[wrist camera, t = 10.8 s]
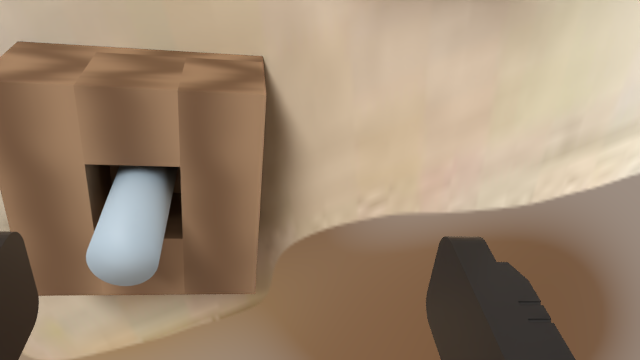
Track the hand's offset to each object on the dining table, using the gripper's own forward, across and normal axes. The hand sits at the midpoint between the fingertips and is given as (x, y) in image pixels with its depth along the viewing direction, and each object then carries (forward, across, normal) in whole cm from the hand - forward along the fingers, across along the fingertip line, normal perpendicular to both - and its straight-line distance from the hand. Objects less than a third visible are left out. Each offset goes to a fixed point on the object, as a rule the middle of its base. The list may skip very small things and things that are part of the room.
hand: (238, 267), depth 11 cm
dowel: (+23, +6, +11) cm, 26 cm away
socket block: (+24, +7, +11) cm, 27 cm away
